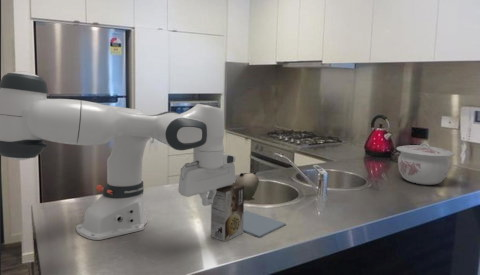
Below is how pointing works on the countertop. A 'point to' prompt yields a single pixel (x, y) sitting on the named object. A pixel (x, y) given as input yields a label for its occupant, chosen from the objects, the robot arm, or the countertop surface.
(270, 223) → the mat
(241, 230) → the coffee box
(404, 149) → the chamber pot
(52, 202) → the countertop surface
